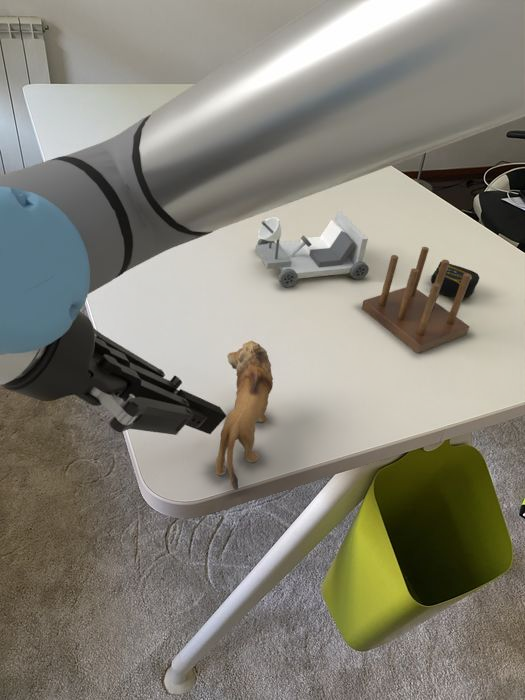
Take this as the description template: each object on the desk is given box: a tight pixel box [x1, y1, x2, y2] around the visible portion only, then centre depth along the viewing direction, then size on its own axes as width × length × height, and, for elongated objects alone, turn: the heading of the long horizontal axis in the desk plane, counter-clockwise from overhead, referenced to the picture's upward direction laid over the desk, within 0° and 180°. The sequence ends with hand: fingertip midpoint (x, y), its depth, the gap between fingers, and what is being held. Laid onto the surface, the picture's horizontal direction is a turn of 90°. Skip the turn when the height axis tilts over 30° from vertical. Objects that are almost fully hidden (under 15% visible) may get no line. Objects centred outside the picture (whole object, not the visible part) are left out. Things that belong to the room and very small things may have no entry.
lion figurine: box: [214, 340, 274, 491], centre depth 58 cm, size 15×5×9 cm, turn 177°
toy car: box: [255, 210, 370, 288], centre depth 88 cm, size 18×10×12 cm
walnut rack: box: [361, 246, 471, 354], centre depth 79 cm, size 12×10×10 cm
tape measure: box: [430, 260, 480, 300], centre depth 88 cm, size 7×7×4 cm
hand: (215, 420), depth 58 cm, fingers closed
